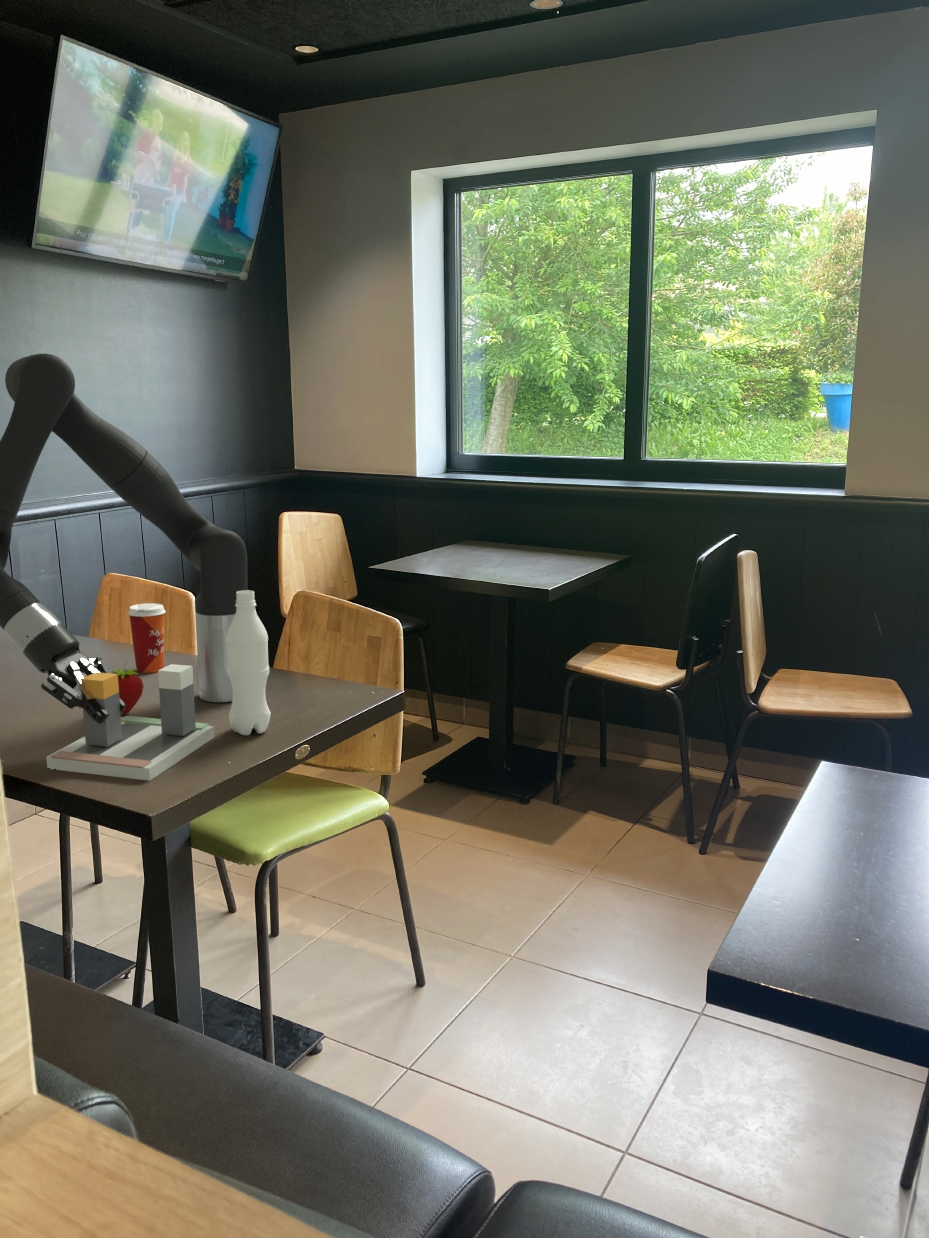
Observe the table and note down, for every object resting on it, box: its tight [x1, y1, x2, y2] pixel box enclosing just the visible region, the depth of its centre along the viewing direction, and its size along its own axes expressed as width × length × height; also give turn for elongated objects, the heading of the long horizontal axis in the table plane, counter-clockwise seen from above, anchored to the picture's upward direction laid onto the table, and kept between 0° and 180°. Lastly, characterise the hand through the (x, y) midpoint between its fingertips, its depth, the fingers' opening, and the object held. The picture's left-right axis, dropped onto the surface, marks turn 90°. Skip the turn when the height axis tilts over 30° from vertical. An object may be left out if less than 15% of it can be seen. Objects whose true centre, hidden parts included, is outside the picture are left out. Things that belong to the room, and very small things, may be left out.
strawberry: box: [111, 660, 144, 715], centre depth 172 cm, size 6×8×10 cm
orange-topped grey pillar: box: [81, 672, 122, 747], centre depth 151 cm, size 4×4×11 cm
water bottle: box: [226, 589, 272, 736], centre depth 162 cm, size 7×7×25 cm
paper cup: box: [127, 602, 167, 674], centre depth 200 cm, size 8×8×14 cm
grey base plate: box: [46, 663, 215, 782], centre depth 152 cm, size 20×18×13 cm
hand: (113, 715), depth 151 cm, fingers closed on orange-topped grey pillar, 4 cm apart
